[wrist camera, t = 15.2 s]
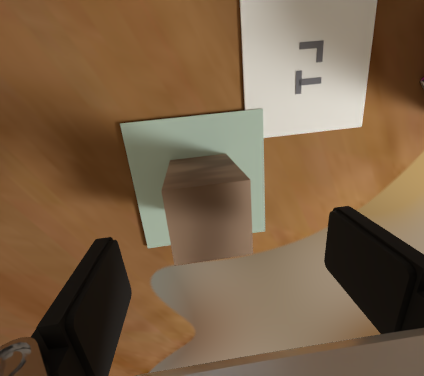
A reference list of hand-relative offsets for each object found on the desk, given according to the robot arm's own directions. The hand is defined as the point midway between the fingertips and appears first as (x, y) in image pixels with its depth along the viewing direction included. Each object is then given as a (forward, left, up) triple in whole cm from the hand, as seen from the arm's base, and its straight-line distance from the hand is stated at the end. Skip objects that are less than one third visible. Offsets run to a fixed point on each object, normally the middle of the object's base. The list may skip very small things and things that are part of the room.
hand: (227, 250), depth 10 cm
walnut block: (0, +1, -12) cm, 12 cm away
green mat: (0, +1, -12) cm, 12 cm away
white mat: (-10, -8, -12) cm, 17 cm away
